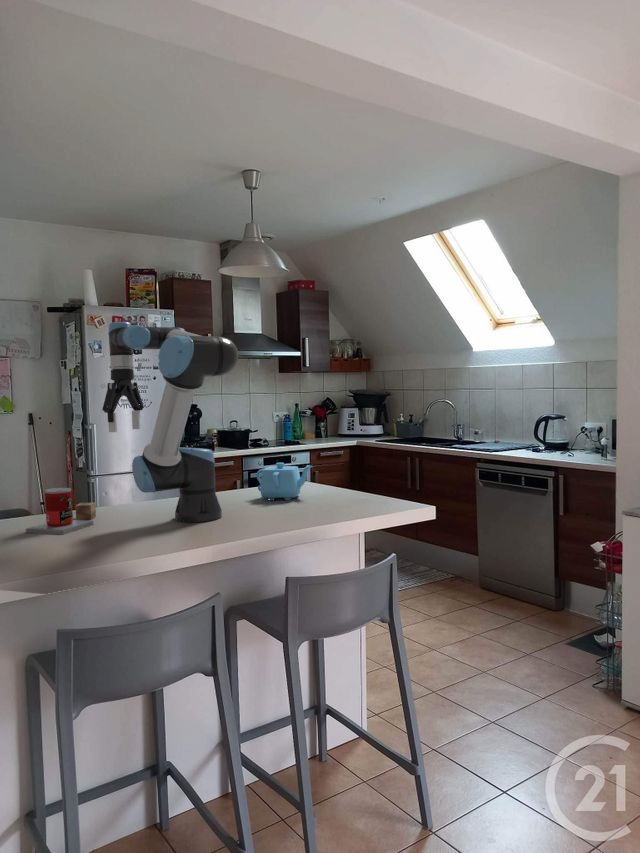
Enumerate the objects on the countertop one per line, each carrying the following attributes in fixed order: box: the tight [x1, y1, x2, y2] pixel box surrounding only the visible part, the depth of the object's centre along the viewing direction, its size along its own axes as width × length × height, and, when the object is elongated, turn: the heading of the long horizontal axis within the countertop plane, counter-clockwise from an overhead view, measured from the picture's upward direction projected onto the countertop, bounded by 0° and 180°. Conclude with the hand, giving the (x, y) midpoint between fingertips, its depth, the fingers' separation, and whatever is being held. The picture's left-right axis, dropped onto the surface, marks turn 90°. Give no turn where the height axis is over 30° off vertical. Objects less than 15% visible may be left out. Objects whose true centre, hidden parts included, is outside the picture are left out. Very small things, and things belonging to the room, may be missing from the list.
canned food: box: [44, 487, 74, 527], centre depth 209 cm, size 8×8×11 cm
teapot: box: [255, 462, 313, 501], centre depth 252 cm, size 18×16×14 cm
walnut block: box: [75, 502, 97, 521], centre depth 223 cm, size 5×5×5 cm
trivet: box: [25, 519, 95, 535], centre depth 209 cm, size 14×14×1 cm
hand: (125, 430), depth 228 cm, fingers open, 13 cm apart
